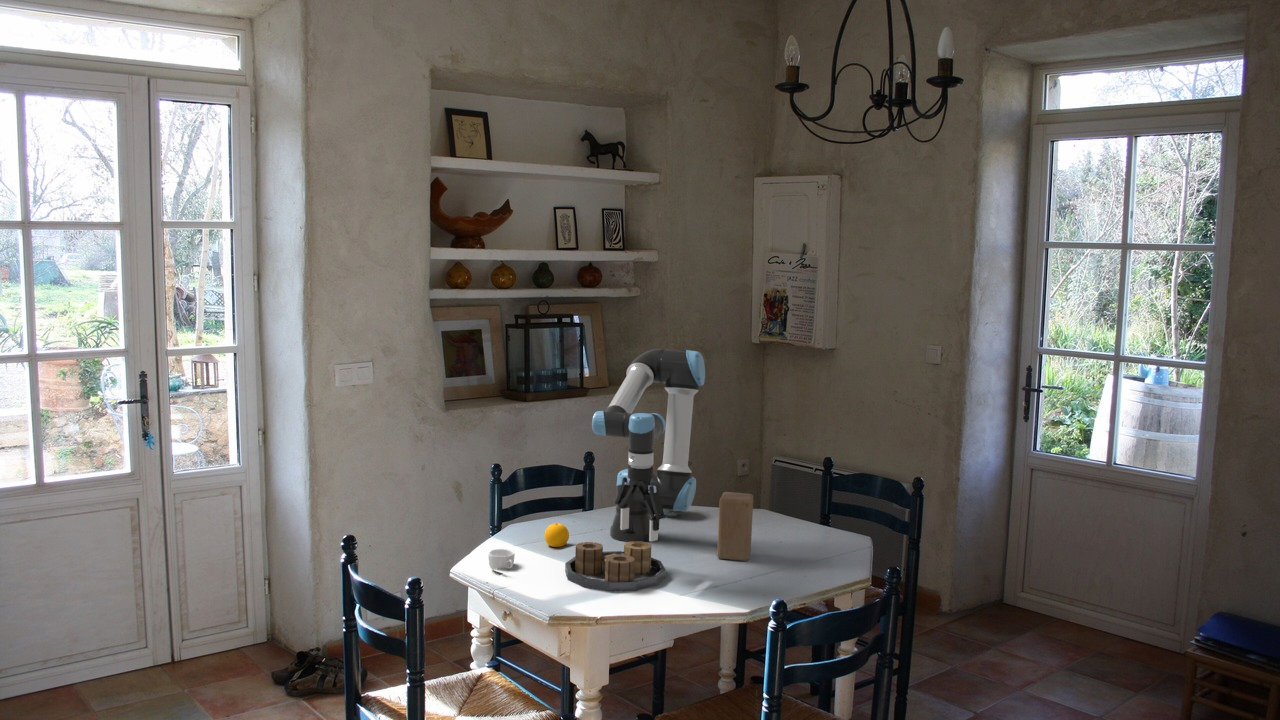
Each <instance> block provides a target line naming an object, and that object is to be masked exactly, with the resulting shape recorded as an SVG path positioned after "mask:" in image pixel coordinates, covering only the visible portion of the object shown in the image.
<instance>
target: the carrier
mask: <svg viewBox="0 0 1280 720" xmlns="http://www.w3.org/2000/svg"><path fill="white" fill-rule="evenodd" d="M616 554H620V555H622V554H623V555H624V550H620V551H619V550H618V551H617V550H615V551H611V550H609V551H603V560H602V572H601V573H598V574H593V575H585V574H580V573H576V572H575V556H573V557H572V558H571V559H569V560H568V561H566V562H565V563H564V565H565V566H564V572H565V577H566V578H567V581H569V582H571V583H573V584H575V585H577V586H580V587H581V588H583V589H590V590H596V591H601V592H602V591H603V592H607V593H608V592H636V591H641V590H645V589H649V588H653V587H657V586H658V585H659V584H660V583H661V582H663V580H664V579H665V578H666V567H665V566H664V564H663V563H662V562H661V560H659V559H656V558H654V557H651V569H650V571H649V572H647V573H643V574H642V573H640V574H636V573H634V581H605V559H606V557H608V556H609V555H616Z"/></svg>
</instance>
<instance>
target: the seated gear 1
mask: <svg viewBox="0 0 1280 720" xmlns="http://www.w3.org/2000/svg"><path fill="white" fill-rule="evenodd" d="M603 552H604V547H603V544H602V543H599V542H593V541H584V542H583V541H581V542H579V543H576V544H575V553H574V554H575V556H574V557H575V572H576V573H580V574H585V575H593V574H598V573H601V572H602V560H603Z"/></svg>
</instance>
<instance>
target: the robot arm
mask: <svg viewBox="0 0 1280 720" xmlns="http://www.w3.org/2000/svg"><path fill="white" fill-rule="evenodd" d="M705 366H706V365H705V361H704V357H703V355H702V354H701V353H700V351H696V350H690V349H672V348H671V349H670V348H669V349H667V348H654V349H650V350H647V351H645V352H643V353H642V354H640V355H639V356H637V357H636V358H635V359H634V360H632V362H631V363H630V364H629V366H628V367H627V369H626V373H625V374H626V377H625V378H624V380H623V381H622V383H621V385H620V386H619V387H618V390H617V392H616V393H615V395H614V396H613V398H612V400H611V402H610V403H609V405H608V406H607V408H606V409H605V410H597V411H595V412H594V413H593V416H592V419H591V420H592V421H591V428H592V432H593V433H594V434H595V435H597V436H604V437H617V438H627V439H628V455H627V457H628V458H627V460H628V461H627V464H628V466H627V468H625V469H623V470H620V471H619V472H618V473H617V476H616V477H617V478H616V484H615V485H616V495H615V496H616V497H615V498H616V499H615V502H614V503H615V515H614V518H613V520H612V524H611V526H610V528H609V531H610V532H609V535H610V537H611V538H613V539H615V540H618V541H622V542H623V541H624V542H631V541H634V542H635V541H643V542H647V541H649V542H656V541H658V539H659V529H660V520H662V519H665V518H666V516H665V515H664V512H663V509H665V510H673V511H682V512H686V511H688V510H689V509H690V508H691V506H692V504H693V501H694V498H695V495H696V489H697V480H696V478H695V477H694V476H693V475H692V473H693V472H692V470H691V468H690V467H689V457H690V446H691V444H690V443H691V433H692V420H693V410H694V409H693V408H694V396H695V395H696V394H698V392H699V389H700V387H702V386H704V384H705V380H706V367H705ZM653 383H660V384H661V383H662V384H664V390H665V391H666V393H667V394H668V396H667V410H666V419H665V418H664V417H663V415H661V414H659V413H656V412H655V413H654V412H652V413H647V412H646V413H645V412H643V413H642V412H638V413H633V411H634V410H635V407H636V406H637V404H638V402H639V400H640V399H641V397H642V396H643V393H644V392H645V390H646V389H647V388H648V387H650V386H651V385H652V384H653ZM663 434H664V442H663V443H664V444H663V457H662V463H661V465H660V466H659V467H658V468H657V469H656V470H657V472H656V473H654V467H653V465H654V459H655V457H654V448H655V446H654V445H655V440H657V439H659V438H660V437H661V436H662V435H663Z"/></svg>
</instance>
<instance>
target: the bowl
mask: <svg viewBox="0 0 1280 720" xmlns="http://www.w3.org/2000/svg"><path fill="white" fill-rule="evenodd" d="M663 512H664V515H665V518H675V517H678V516H679V514H680V513H682V512H683V511H673V510H665V509H663Z"/></svg>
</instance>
